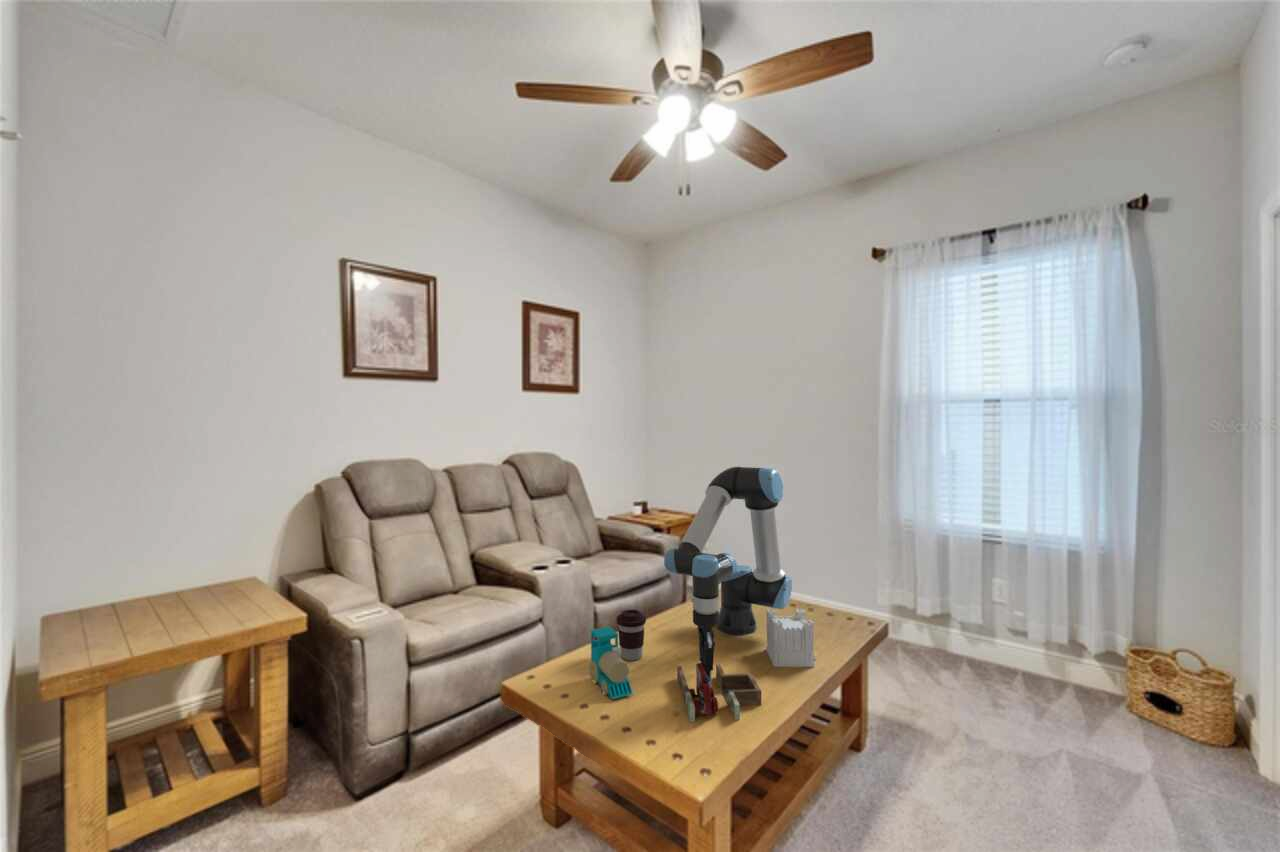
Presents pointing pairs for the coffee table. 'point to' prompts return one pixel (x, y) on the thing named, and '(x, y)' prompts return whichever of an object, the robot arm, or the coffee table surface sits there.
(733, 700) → the channel
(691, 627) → the coffee table surface
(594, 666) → the toy train
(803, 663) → the castle model
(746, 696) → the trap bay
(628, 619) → the coffee cup
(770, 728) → the coffee table surface
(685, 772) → the coffee table surface
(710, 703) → the toy fire truck
